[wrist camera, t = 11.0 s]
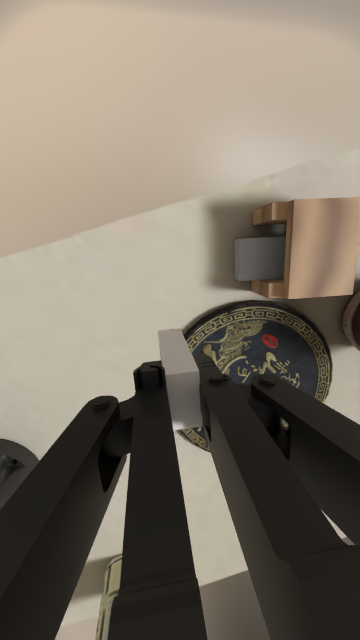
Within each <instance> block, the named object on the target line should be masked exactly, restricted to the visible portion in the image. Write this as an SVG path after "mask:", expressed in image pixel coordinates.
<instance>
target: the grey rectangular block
mask: <svg viewBox="0 0 360 640" xmlns="http://www.w3.org/2000/svg"><path fill="white" fill-rule="evenodd" d="M285 248H286V236H280V237H262V238H244V239H235V240H234V279H235V280H238V281H250V280H264V279H278V278H284V266H285Z"/></svg>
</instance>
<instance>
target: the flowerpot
mask: <svg viewBox="0 0 360 640" xmlns="http://www.w3.org/2000/svg"><path fill="white" fill-rule="evenodd" d="M343 330H344V333H345V335H346V337H347V338H348V340H349V341H350V342H351V343H352V344H353V345H354V346H355V347H356V348H357V349H358V350H359V351H360V291H359V292H358V293H356V294H355V295H353V296H352V298H351V299H350V300H349V302H348V305H346V307H345V310H344V313H343Z"/></svg>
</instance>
